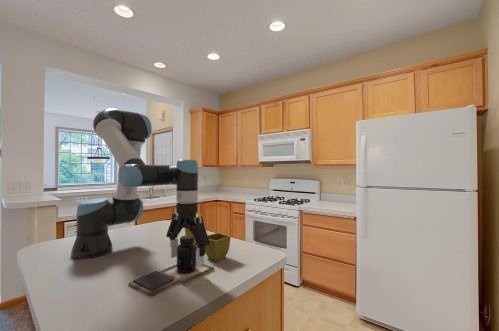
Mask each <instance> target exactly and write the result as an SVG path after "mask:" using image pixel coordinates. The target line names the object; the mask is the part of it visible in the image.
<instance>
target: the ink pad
mask: <svg viewBox="0 0 499 331" xmlns="http://www.w3.org/2000/svg"><path fill="white" fill-rule="evenodd" d="M173 280H174V278H172V277H169V276H167V275H164V274H162V273H159V271H158V272H157V270H155V271H151V272H149V273H146V274H144V275H143V276H139V277H137V278H135V279H133V280H132V281H133V282H134V283H136V284H138V285H140V286H142V287H144V288H147V289H149V290H151V291H153V290H155V289H157V288H159V287H161V286H163V285H165V284H167V283H169V282H171V281H173Z"/></svg>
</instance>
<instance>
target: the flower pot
mask: <svg viewBox="0 0 499 331" xmlns="http://www.w3.org/2000/svg"><path fill="white" fill-rule="evenodd" d="M207 236H208V239H209V242H210V244H209V245H207V246H205V255H206V256H207V258H209V259H210V260H213V261H218V260H221V259H225V257H226V256H227V255H228V253H229V251H230V245H231V235H227V234H223V233H219V232H216V233H211V234H207Z"/></svg>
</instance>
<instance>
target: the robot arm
mask: <svg viewBox="0 0 499 331" xmlns="http://www.w3.org/2000/svg"><path fill="white" fill-rule="evenodd" d="M92 124H93V125H92V127H93V130H94V132H95V134H96V136H98V137H99V138H100V139H102V140H103V142H104V143H105V144H106V146H107V148H108V150H109V151H110V153H111V155H112V156H113V157H114V160H115V161H116V163H117V164H118V171H117V172H118V174H117V186H116V192H115V193H114V194H113V195H112V199H111V200H109V198H108V197H107V198H106V197H101V198H92V199H88V200H84V201H82V202H80V203H78V205H77V207H76V237H75V241H74V242H73V245H72V248H71V251H70V257H71V258H73V259H78V260H79V259H90V258H91V259H92V258H96V257H99V256H100V257H101V256H103V255H106V254H108V253H111V252H112V250H113V243H112V240H111V237H110V235H109V227H111V226H116V225H123V224H130V223H133V222H136V221H138V220H139V219H141V218H142V215H143V213H144V204H143V203H144V202H143V200H142V199H141V198H140V195H139V194H138V192H137V190H138V187H149V186H151V187H152V186H169V185H170V186H172V185H173V186H176V202H177V203H176V204H175V205H176V206H175V207H176V208H175V209H176V210H175V212H176V213H172V215H171V221H170V224H169V226H168V230H167V233H166V238H169V240H170V241H169V242H170V243H169V244H170V258H171V259H173V258H177V247H178V245H179V237H178V236H179V234H180V232H181V231H182V230H183V229H185V228H186V229H189V230H190V231H191V232H192V234H193V236H194V238H195V240H196V242H197V243H196V244H197V245H198V246H196V262H197V266H201V265H203V264H205V262H204V260H205V255H206V253H205V246H207V245H209V244H210V242H209V239H208V236H207V235H208V233H207V230H206V227H205V224H204V217H203V216H202V217H196V213H198V211H199V210H198V208H199V206H198V205H199V203H198V202H197V201H199V195H198V193H199V192H198V190H199V187H198V186H199V185H198V184H199V165H198V164H199V163H198V161H197V160H196V159H177V161H176V165H175V164H173V165H171V164H170V165H169V164H163V165H162V164H160V165H159V164H146V162H144V160H143V159H142V158H141V150H142V145H144V144H145V143H146V140H147V139H149V138H150V137H151V134H152V130H153V129H152V123H151V120H150V119H149V117H148V116H147V115H145V114H143V113H138V112H132V111H127V110H121V109H117V108H107V109H103V110H101V111H99V112H98V113H96V115H95V117H94V119H93V121H92ZM193 226H194V227H193Z"/></svg>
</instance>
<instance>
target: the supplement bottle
mask: <svg viewBox="0 0 499 331" xmlns="http://www.w3.org/2000/svg"><path fill="white" fill-rule="evenodd" d="M193 242H194V237H193V236H190V235H186V236H185V235H183V236H180V237H179V243H178V247H177V256H176V264H177V272H178V273H180V274H189V273H192V272H194V271H195V269H196V262H197V245H196V243H195V244H194V243H193Z"/></svg>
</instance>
